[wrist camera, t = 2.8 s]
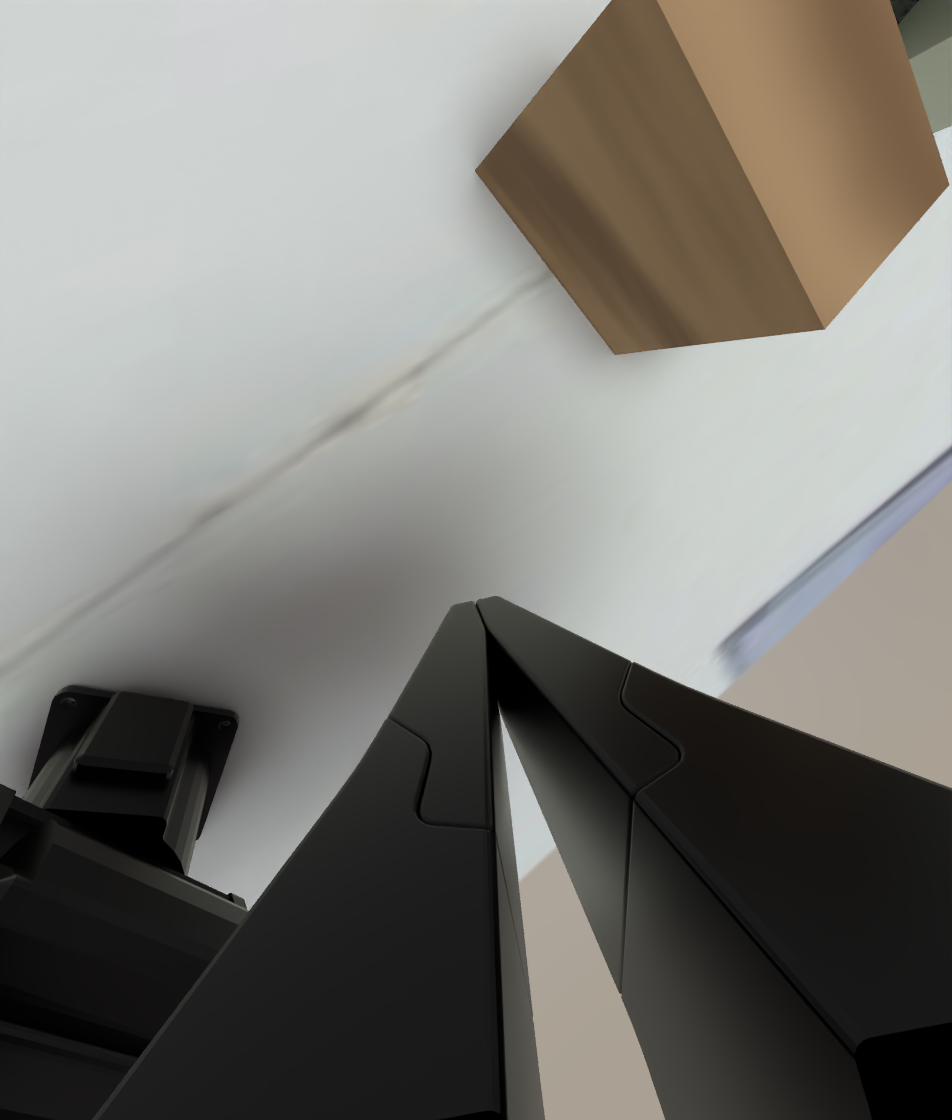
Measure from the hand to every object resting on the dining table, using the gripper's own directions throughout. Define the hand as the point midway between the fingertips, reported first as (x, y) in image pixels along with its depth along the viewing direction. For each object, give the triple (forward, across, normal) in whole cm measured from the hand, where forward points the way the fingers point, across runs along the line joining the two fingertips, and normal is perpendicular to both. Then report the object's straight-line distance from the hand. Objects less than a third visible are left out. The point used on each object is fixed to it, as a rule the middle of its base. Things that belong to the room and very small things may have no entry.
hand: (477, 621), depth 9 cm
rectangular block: (+18, +12, +8) cm, 22 cm away
